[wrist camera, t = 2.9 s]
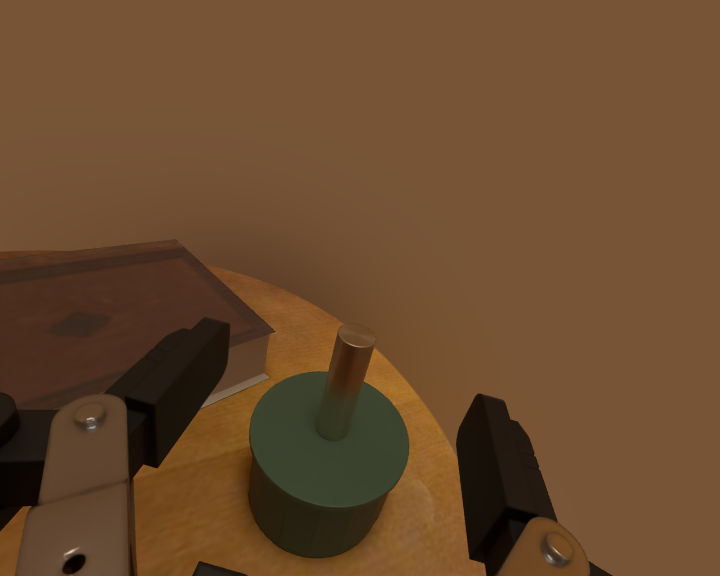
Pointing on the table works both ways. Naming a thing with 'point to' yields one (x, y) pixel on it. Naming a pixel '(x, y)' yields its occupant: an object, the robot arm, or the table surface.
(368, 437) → the tin lid
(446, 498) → the table surface
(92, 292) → the book
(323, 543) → the tin
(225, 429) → the table surface
